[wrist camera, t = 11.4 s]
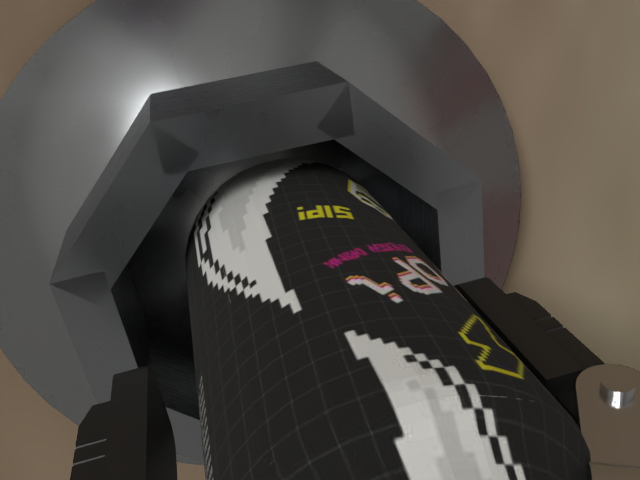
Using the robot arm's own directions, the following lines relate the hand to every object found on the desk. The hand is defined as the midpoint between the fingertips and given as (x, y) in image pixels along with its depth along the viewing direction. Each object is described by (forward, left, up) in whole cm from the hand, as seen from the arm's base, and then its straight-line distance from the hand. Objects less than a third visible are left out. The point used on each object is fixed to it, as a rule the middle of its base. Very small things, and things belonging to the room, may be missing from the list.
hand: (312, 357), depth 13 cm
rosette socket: (0, 0, -7) cm, 7 cm away
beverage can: (0, 0, -5) cm, 5 cm away
